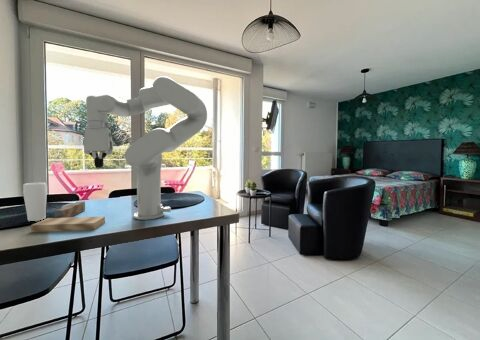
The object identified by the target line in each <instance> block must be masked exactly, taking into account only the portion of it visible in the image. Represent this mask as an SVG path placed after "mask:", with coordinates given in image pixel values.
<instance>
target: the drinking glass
mask: <svg viewBox="0 0 480 340" xmlns="http://www.w3.org/2000/svg"><path fill="white" fill-rule="evenodd" d="M47 187H48V186H47V182H45V181H44V182H43V181H42V182H40V181H38V182H28V183H23V185H22V192H23V199H24V204H25V211H26V216H27V221H28V222H30V221H35V222H40V220H41V221H42V220H43V219H47V218H46V217H47V213H46V212H47V211H46V209H47V197H48V196H47V194H48V192H47V191H48V188H47Z"/></svg>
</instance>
